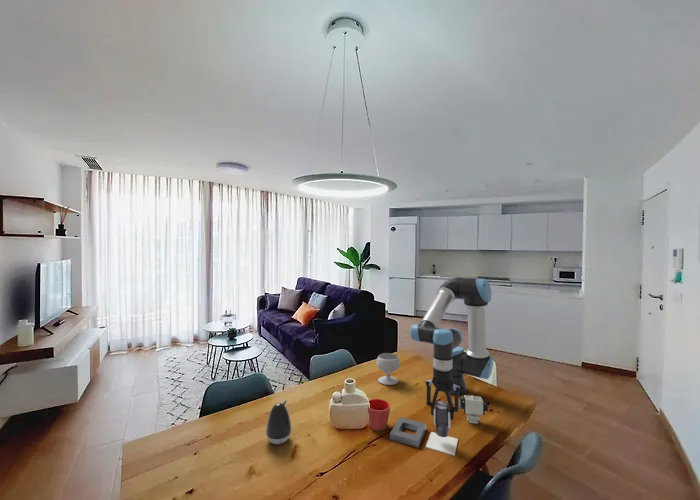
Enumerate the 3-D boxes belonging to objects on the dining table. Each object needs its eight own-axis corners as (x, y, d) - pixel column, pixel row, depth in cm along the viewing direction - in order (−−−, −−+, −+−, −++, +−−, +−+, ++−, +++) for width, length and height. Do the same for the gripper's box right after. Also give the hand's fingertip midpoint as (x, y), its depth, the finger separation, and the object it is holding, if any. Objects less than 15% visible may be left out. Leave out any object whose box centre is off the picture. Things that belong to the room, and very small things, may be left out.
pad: (431, 432, 132) (431, 431, 132) (457, 439, 127) (457, 438, 127) (425, 447, 122) (425, 446, 122) (454, 455, 117) (454, 454, 117)
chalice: (377, 375, 191) (377, 351, 191) (399, 377, 189) (399, 352, 189) (375, 385, 177) (376, 359, 177) (400, 387, 175) (400, 361, 175)
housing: (399, 422, 140) (399, 416, 140) (426, 429, 134) (426, 423, 134) (389, 439, 127) (389, 433, 127) (418, 447, 122) (418, 441, 122)
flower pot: (376, 416, 145) (376, 396, 145) (394, 426, 137) (395, 404, 137) (360, 425, 137) (361, 403, 137) (379, 436, 129) (379, 413, 129)
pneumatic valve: (487, 426, 137) (488, 399, 137) (460, 423, 139) (460, 396, 139) (485, 419, 142) (485, 393, 142) (458, 416, 145) (458, 391, 145)
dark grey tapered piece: (296, 435, 130) (296, 399, 130) (283, 450, 120) (283, 412, 120) (275, 430, 133) (275, 395, 133) (260, 445, 123) (261, 407, 123)
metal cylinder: (436, 428, 128) (437, 400, 128) (449, 431, 126) (449, 402, 126) (434, 435, 123) (434, 405, 123) (447, 438, 121) (447, 408, 121)
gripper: (418, 367, 125) (418, 424, 125) (465, 375, 117) (464, 436, 117) (422, 361, 132) (422, 415, 132) (467, 368, 124) (466, 426, 124)
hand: (442, 424), depth 124 cm, fingers closed on metal cylinder, 5 cm apart
